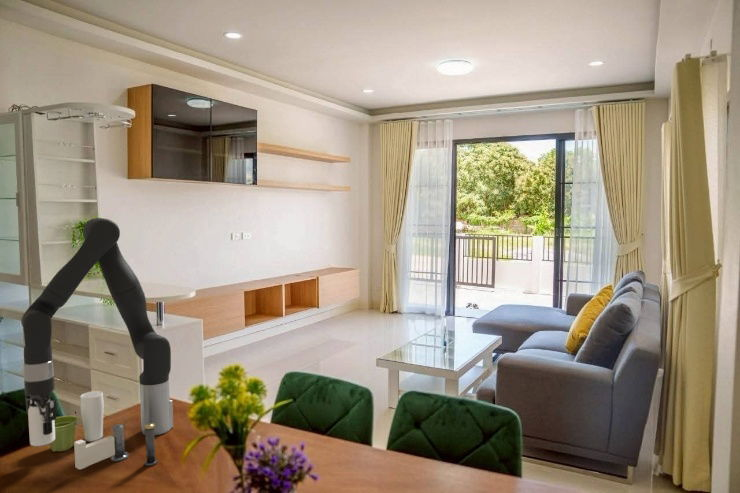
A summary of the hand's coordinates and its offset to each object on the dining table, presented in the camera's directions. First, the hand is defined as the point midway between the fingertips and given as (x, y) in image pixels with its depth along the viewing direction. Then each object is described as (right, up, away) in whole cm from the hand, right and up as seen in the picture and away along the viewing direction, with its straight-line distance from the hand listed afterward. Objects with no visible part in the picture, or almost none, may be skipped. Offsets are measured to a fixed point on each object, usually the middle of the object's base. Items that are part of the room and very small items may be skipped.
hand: (42, 431), depth 155 cm
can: (0, -4, 0) cm, 4 cm away
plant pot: (0, -9, +11) cm, 14 cm away
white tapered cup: (+7, -9, +17) cm, 20 cm away
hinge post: (+22, -9, +3) cm, 24 cm away
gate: (+18, -8, -3) cm, 19 cm away
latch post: (+33, -9, -1) cm, 34 cm away
